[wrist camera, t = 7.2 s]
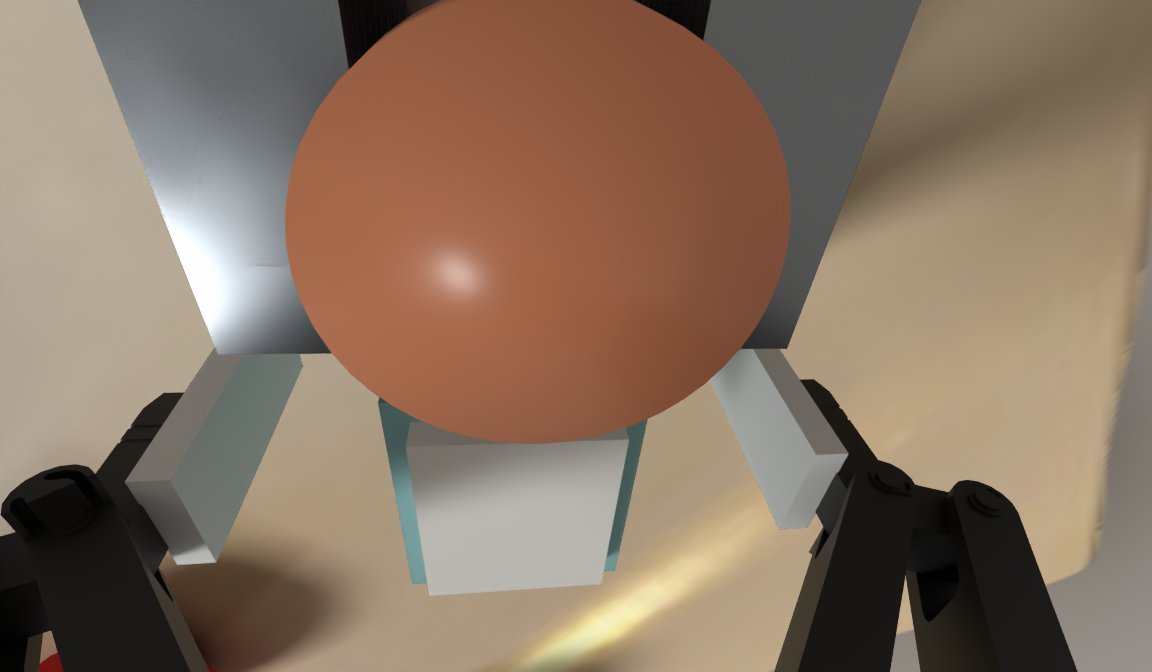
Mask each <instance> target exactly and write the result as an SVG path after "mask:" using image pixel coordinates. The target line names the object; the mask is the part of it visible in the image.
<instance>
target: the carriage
mask: <svg viewBox="0 0 1152 672" xmlns="http://www.w3.org/2000/svg"><path fill="white" fill-rule="evenodd" d="M378 405H379V410H380V416H381V421H382V426H383V432H384V437H385V442H386V447H387V453H388V458H389V463H390V469H391V474H392V479H393V485H394V490H395V495H396V501H397V506H398V511H399V517H400V522H401V527H402V533H403V538H404V543H405V548H406V554H407V559H408V564H409V570H410V575H411V580H412V584H420V583H427V585H428V591H429V596H435V595H450V594H464V593H478V592H493V591H507V590H522V589H536V588H550V587H565V586H579V585H593V584H601V582H602V577H603V572H604V571H615V568H616V563H617V559H618V554H619V549H620V545H621V540H622V535H623V531H624V526H625V522H626V517H627V512H628V508H629V503H630V498H631V494H632V489H633V484H634V480H635V475H636V471H637V466H638V461H639V457H640V452H641V447H642V443H643V438H644V434H645V429H646V424H647V420H648V419H646V420H644V421H642V422H640V423H637V424H634V425H631V426H629V427H626V428H623V429H620V430H618V431H615V432H611V433H607V434H603V435H599V436H595V437H592V438H586V439H580V440H574V441H568V442H558V443H545V444H515V443H506V442H496V441H488V440H483V439H478V438H473V437H468V436H464V435H460V434H457V433H454V432H450V431H447V430H444V429H440V428H438V427H435V426H433V425H431V424H428V423H426V422H423V421H421V420H418V419H416V418H414V417H412V416H410V415H408V414H407V413H405V412H403V411H401V410H399V409H397V408H395V407H394V406H392V405H390V404H389V403H388V402H386V401H385V400H383V399H382V398H380V397H379V401H378Z"/></svg>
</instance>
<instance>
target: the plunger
mask: <svg viewBox="0 0 1152 672" xmlns="http://www.w3.org/2000/svg"><path fill="white" fill-rule="evenodd" d="M790 226H791V193H790V187H789V181H788V174H787V168H786V163H785V160H784V156H783V153H782V150H781V147H780V144H779V141H778V138H777V135H776V132H775V130H774V128H773V126H772V124H771V122H770V120H769V118H768V116H767V114H766V112H765V110H764V108H763V106H762V104H761V103H760V101H759V100H758V98H757V97H756V96H755V94H754V93H753V92H752V90H751V89H750V87H749V86H748V85H747V83H746V82H745V80H744V79H743V78H742V76H741V75H740V74H739V73H738V72H737V71H736V70H735V69H734V68H733V67H732V66H731V65H730V64H729V63H728V62H727V61H726V60H725V59H724V58H723V57H722V56H721V55H720V54H719V53H718V52H717V51H716V50H715V49H714V48H712V47H711V46H710V45H708V44H707V43H706V42H704V41H703V40H701V39H700V38H699V37H697V36H696V35H695V34H693V33H692V32H690V31H689V30H688V29H686V28H685V27H683V26H682V25H680V24H678V23H676V22H674V21H672V20H671V19H669V18H667V17H665V16H663V15H662V14H660V13H658V12H656V11H654V10H652V9H650V8H648V7H646V6H644V5H642V4H640V3H638V2H636V1H634V0H439V1H437V2H435V3H433V4H431V5H429V6H427V7H425V8H423V9H421V10H419V11H417V12H415V13H414V14H412V15H411V16H410V17H408V18H407V19H405V20H404V21H403V22H401V23H400V24H398V25H397V26H396V27H394V28H393V29H392V30H390V31H389V32H387V33H386V34H385V35H384V36H383V37H382V38H381V39H380V40H379V41H378V42H377V43H376V44H375V45H374V46H373V47H371V48H370V49H369V50H368V51H367V52H366V53H365V54H364V55H363V56H362V57H361V58H360V59H359V60H358V61H357V62H356V63H355V64H354V65H353V66H352V67H351V68H350V69H349V70H348V71H347V72H346V73H345V74H344V75H343V76H342V77H341V78H340V79H339V80H338V82H337V83H336V84H335V86H334V87H333V89H332V90H331V91H330V93H329V94H328V95H327V97H326V98H325V100H324V101H323V102H322V104H321V105H320V107H319V108H318V109H317V111H316V112H315V114H314V116H313V118H312V120H311V122H310V124H309V126H308V128H307V130H306V132H305V135H304V137H303V139H302V141H301V143H300V145H299V148H298V151H297V154H296V158H295V161H294V164H293V168H292V171H291V174H290V178H289V184H288V192H287V199H286V207H285V234H286V248H287V253H288V258H289V264H290V269H291V274H292V277H293V280H294V283H295V286H296V289H297V292H298V295H299V298H300V300H301V303H302V305H303V307H304V309H305V311H306V313H307V315H308V317H309V319H310V321H311V323H312V325H313V327H314V328H315V330H316V331H317V333H318V334H319V336H320V337H321V339H322V340H323V341H324V343H325V344H326V346H327V347H328V349H329V350H330V351H331V353H332V354H333V355H334V356H335V357H336V358H337V359H338V360H339V362H340V363H341V364H342V365H343V366H344V367H345V368H346V369H347V370H348V371H349V373H350V374H352V375H353V376H354V377H355V378H356V379H357V380H359V381H360V382H361V383H362V384H363V385H364V386H365V387H367V388H368V389H369V390H370V391H371V392H373V393H374V394H376V395H377V396H379V397H380V398H382V399H383V400H385V401H386V402H388V403H389V404H390V405H392V406H394V407H395V408H397V409H399V410H401V411H403V412H405V413H407V414H408V415H410V416H412V417H414V418H416V419H418V420H421V421H423V422H426V423H428V424H431V425H433V426H435V427H438V428H440V429H444V430H447V431H450V432H454V433H457V434H460V435H464V436H468V437H473V438H478V439H483V440H488V441H496V442H506V443H515V444H545V443H558V442H568V441H574V440H580V439H586V438H592V437H595V436H599V435H603V434H607V433H611V432H615V431H618V430H620V429H623V428H626V427H629V426H631V425H634V424H637V423H640V422H642V421H644V420H646V419H648V418H650V417H652V416H654V415H657V414H659V413H661V412H663V411H664V410H666V409H668V408H670V407H671V406H673V405H675V404H676V403H678V402H680V401H681V400H683V399H685V398H686V397H687V396H689V395H690V394H691V393H693V392H694V391H696V390H697V389H698V388H700V387H701V386H703V385H704V384H705V383H706V382H707V381H708V380H710V379H711V378H712V377H713V376H714V375H715V374H716V373H717V372H719V371H720V370H721V369H722V368H723V367H724V366H725V365H726V364H727V363H728V362H729V360H730V359H731V358H732V357H733V356H734V355H735V354H736V353H737V352H738V351H739V349H740V348H741V347H742V346H743V344H744V343H745V342H746V340H747V339H748V337H749V336H750V335H751V333H752V332H753V331H754V329H755V328H756V326H757V325H758V323H759V321H760V319H761V317H762V316H763V314H764V312H765V310H766V309H767V307H768V305H769V303H770V301H771V298H772V296H773V294H774V291H775V289H776V286H777V284H778V282H779V279H780V276H781V272H782V269H783V265H784V261H785V257H786V254H787V249H788V241H789V233H790Z"/></svg>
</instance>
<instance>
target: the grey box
mask: <svg viewBox="0 0 1152 672" xmlns="http://www.w3.org/2000/svg"><path fill="white" fill-rule="evenodd" d="M437 1H439V0H78V3H79V5H80V8H81V10H82V13H83V15H84V18H85V20H86V23H87V25H88V28H89V30H90V33H91V35H92V38H93V40H94V43H95V45H96V48H97V50H98V53H99V56H100V58H101V61H102V63H103V66H104V68H105V71H106V73H107V76H108V78H109V81H110V83H111V86H112V88H113V91H114V93H115V96H116V98H117V101H118V103H119V106H120V108H121V111H122V114H123V116H124V119H125V121H126V124H127V126H128V129H129V131H130V134H131V136H132V139H133V141H134V144H135V146H136V149H137V151H138V154H139V156H140V159H141V161H142V164H143V167H144V169H145V172H146V174H147V177H148V179H149V182H150V184H151V187H152V189H153V192H154V194H155V197H156V199H157V202H158V204H159V207H160V209H161V212H162V214H163V217H164V219H165V222H166V225H167V227H168V230H169V232H170V235H171V237H172V240H173V242H174V245H175V247H176V250H177V252H178V255H179V257H180V260H181V262H182V265H183V267H184V270H185V272H186V275H187V277H188V280H189V283H190V285H191V288H192V290H193V293H194V295H195V298H196V300H197V303H198V305H199V308H200V310H201V313H202V315H203V318H204V320H205V323H206V325H207V328H208V330H209V333H210V335H211V338H212V341H213V343H214V346H215V348H216V351H217V353H218V354H314V353H331V351H330V350H329V349H328V347H327V346H326V344H325V343H324V341H323V340H322V339H321V337H320V336H319V334H318V333H317V331H316V330H315V328H314V327H313V325H312V323H311V321H310V319H309V317H308V315H307V313H306V311H305V309H304V307H303V305H302V303H301V300H300V298H299V295H298V292H297V289H296V286H295V283H294V280H293V277H292V274H291V269H290V264H289V258H288V253H287V248H286V234H285V207H286V199H287V192H288V184H289V178H290V174H291V171H292V168H293V164H294V161H295V158H296V154H297V151H298V148H299V145H300V143H301V141H302V139H303V137H304V135H305V132H306V130H307V128H308V126H309V124H310V122H311V120H312V118H313V116H314V114H315V112H316V111H317V109H318V108H319V107H320V105H321V104H322V102H323V101H324V100H325V98H326V97H327V95H328V94H329V93H330V91H331V90H332V89H333V87H334V86H335V84H336V83H337V82H338V80H339V79H340V78H341V77H342V76H343V75H344V74H345V73H346V72H347V71H348V70H349V69H350V68H351V67H352V66H353V65H354V64H355V63H356V62H357V61H358V60H359V59H360V58H361V57H362V56H363V55H364V54H365V53H366V52H367V51H368V50H369V49H370V48H371V47H373V46H374V45H375V44H376V43H377V42H378V41H379V40H380V39H381V38H382V37H383V36H384V35H385V34H386V33H387V32H389V31H390V30H392V29H393V28H394V27H396V26H397V25H398V24H400V23H401V22H403V21H404V20H405V19H407V18H408V17H410V16H411V15H412V14H414V13H415V12H417V11H419V10H421V9H423V8H425V7H427V6H429V5H431V4H433V3H435V2H437ZM634 1H636V2H638V3H640V4H642V5H644V6H646V7H648V8H650V9H652V10H654V11H656V12H658V13H660V14H662V15H663V16H665V17H667V18H669V19H671V20H672V21H674V22H676V23H678V24H680V25H682V26H683V27H685V28H686V29H688V30H689V31H690V32H692V33H693V34H695V35H696V36H697V37H699V38H700V39H701V40H703V41H704V42H706V43H707V44H708V45H710V46H711V47H712V48H714V49H715V50H716V51H717V52H718V53H719V54H720V55H721V56H722V57H723V58H724V59H725V60H726V61H727V62H728V63H729V64H730V65H731V66H732V67H733V68H734V69H735V70H736V71H737V72H738V73H739V74H740V75H741V76H742V78H743V79H744V80H745V82H746V83H747V85H748V86H749V87H750V89H751V90H752V92H753V93H754V94H755V96H756V97H757V98H758V100H759V101H760V103H761V104H762V106H763V108H764V110H765V112H766V114H767V116H768V118H769V120H770V122H771V124H772V126H773V128H774V130H775V132H776V135H777V138H778V141H779V144H780V147H781V150H782V153H783V156H784V160H785V163H786V168H787V174H788V181H789V187H790V193H791V226H790V233H789V241H788V249H787V254H786V257H785V261H784V265H783V269H782V272H781V276H780V279H779V282H778V284H777V286H776V289H775V291H774V294H773V296H772V298H771V301H770V303H769V305H768V307H767V309H766V310H765V312H764V314H763V316H762V317H761V319H760V321H759V323H758V325H757V326H756V328H755V329H754V331H753V332H752V333H751V335H750V336H749V337H748V339H747V340H746V342H745V343H744V344H743V346H742V347H741V348H740V349H787V347H788V344H789V342H790V339H791V337H792V334H793V331H794V329H795V326H796V324H797V321H798V318H799V316H800V313H801V311H802V308H803V305H804V303H805V300H806V298H807V295H808V293H809V290H810V287H811V285H812V282H813V280H814V277H815V274H816V272H817V269H818V267H819V264H820V261H821V259H822V256H823V254H824V251H825V248H826V246H827V243H828V241H829V238H830V235H831V233H832V230H833V228H834V225H835V222H836V220H837V217H838V215H839V212H840V210H841V207H842V204H843V202H844V199H845V197H846V194H847V191H848V189H849V186H850V184H851V181H852V178H853V176H854V173H855V171H856V168H857V165H858V163H859V160H860V158H861V155H862V152H863V150H864V147H865V145H866V142H867V140H868V137H869V134H870V132H871V129H872V127H873V124H874V121H875V119H876V116H877V114H878V111H879V108H880V106H881V103H882V101H883V98H884V95H885V93H886V90H887V88H888V85H889V82H890V80H891V77H892V75H893V72H894V69H895V67H896V64H897V62H898V59H899V57H900V54H901V51H902V49H903V46H904V44H905V41H906V38H907V36H908V33H909V31H910V28H911V25H912V23H913V20H914V18H915V15H916V12H917V10H918V7H919V5H920V2H921V0H634Z"/></svg>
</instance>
